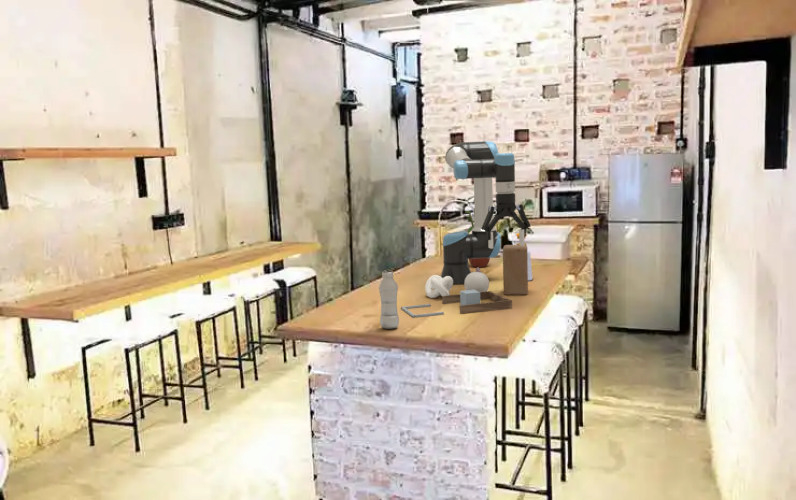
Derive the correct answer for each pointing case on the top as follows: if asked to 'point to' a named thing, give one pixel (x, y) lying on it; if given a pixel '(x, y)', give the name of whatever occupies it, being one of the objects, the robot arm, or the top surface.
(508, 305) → the brown flat u-shaped frame
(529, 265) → the soap bottle
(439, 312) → the corral
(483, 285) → the ornament
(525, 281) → the wooden block
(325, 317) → the top surface
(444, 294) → the white lobed knot
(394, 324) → the plastic bottle
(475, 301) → the cube
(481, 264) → the potted plant
